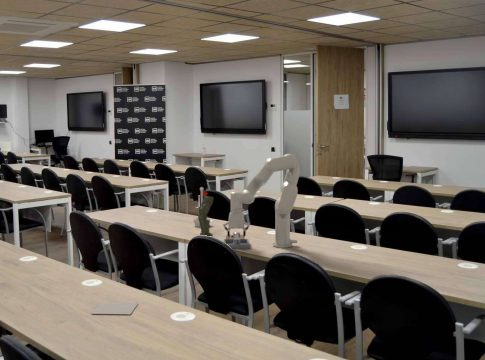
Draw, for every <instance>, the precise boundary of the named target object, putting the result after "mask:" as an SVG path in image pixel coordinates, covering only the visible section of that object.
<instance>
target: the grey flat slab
mask: <svg viewBox="0 0 485 360" xmlns="http://www.w3.org/2000/svg"><path fill="white" fill-rule="evenodd" d="M138 304H139V302H120V301H119V302H117V301H116V302H114V301H113V302H111V301H110V302H107V301H106V302H105V301H103V302H100V303H99V305H97V306H96V308H95V309H94V310H93V311H92V312H91V315H96V314H97V315H131V314H132V313H133V311H134V310H135V309H136V307H137V306H138Z"/></svg>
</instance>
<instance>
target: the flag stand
mask: <svg viewBox="0 0 485 360" xmlns="http://www.w3.org/2000/svg"><path fill="white" fill-rule="evenodd" d="M204 189H205V188H204V187H202V186H201V187H200V188H199V191H200V206H201V205H202V201H203V198H204V196H208V194H209V193H208V192H206V191H204ZM207 220H209V224H210V223H211V218H210V217H207ZM193 223H194V227H196V226H197V228H200V223H199V218H198V217H195V218H193Z"/></svg>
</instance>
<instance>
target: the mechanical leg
mask: <svg viewBox="0 0 485 360" xmlns="http://www.w3.org/2000/svg"><path fill="white" fill-rule="evenodd" d="M213 204H214V197H213V196H210V195H205V196H203V201H202V205H201V204H200V205H199V207H198V214H197V218H199V223H200V227H199V228H200V230H201V231H200V233H199V235H207V236H212V237H213V235H214V234H213V233H211V231H210V223H209V220H207V218H208V214H209V211H210V208H211V207H212V205H213Z"/></svg>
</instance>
